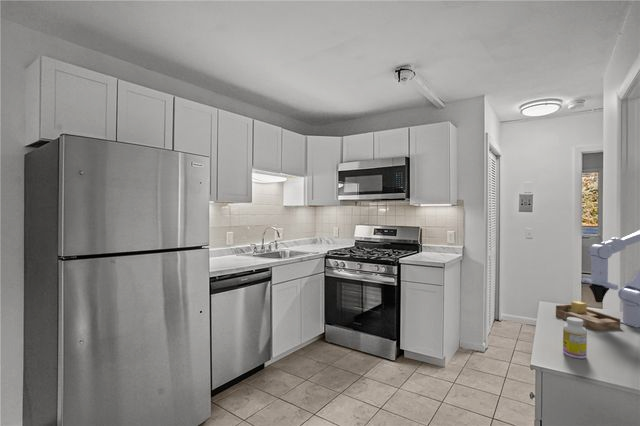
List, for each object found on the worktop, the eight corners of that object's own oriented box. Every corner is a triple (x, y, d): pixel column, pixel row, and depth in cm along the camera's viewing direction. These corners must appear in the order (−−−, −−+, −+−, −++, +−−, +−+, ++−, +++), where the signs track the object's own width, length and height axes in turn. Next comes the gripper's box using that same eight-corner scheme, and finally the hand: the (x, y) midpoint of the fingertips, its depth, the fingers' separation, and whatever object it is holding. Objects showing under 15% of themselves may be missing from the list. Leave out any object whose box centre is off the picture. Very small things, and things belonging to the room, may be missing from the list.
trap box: (578, 314, 162) (578, 303, 161) (620, 328, 143) (620, 316, 143) (555, 315, 159) (555, 305, 159) (595, 330, 141) (595, 318, 140)
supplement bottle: (563, 349, 122) (564, 314, 122) (586, 354, 118) (587, 318, 118) (562, 355, 117) (562, 319, 117) (586, 361, 113) (586, 323, 113)
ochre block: (578, 309, 159) (578, 301, 159) (586, 312, 155) (586, 303, 155) (571, 309, 159) (571, 301, 158) (579, 312, 155) (579, 304, 155)
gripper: (576, 268, 154) (576, 298, 154) (608, 275, 140) (608, 307, 140) (589, 268, 155) (588, 297, 156) (622, 274, 141) (622, 306, 141)
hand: (598, 302), depth 148 cm, fingers closed
